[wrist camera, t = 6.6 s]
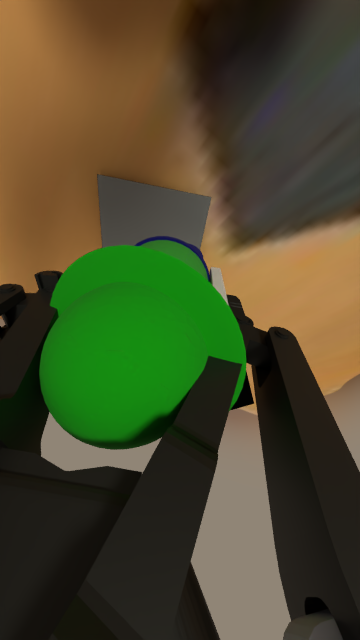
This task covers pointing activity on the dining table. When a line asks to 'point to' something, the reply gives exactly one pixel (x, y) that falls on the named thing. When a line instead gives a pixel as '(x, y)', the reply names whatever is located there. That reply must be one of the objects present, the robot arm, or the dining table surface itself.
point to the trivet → (148, 212)
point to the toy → (135, 341)
